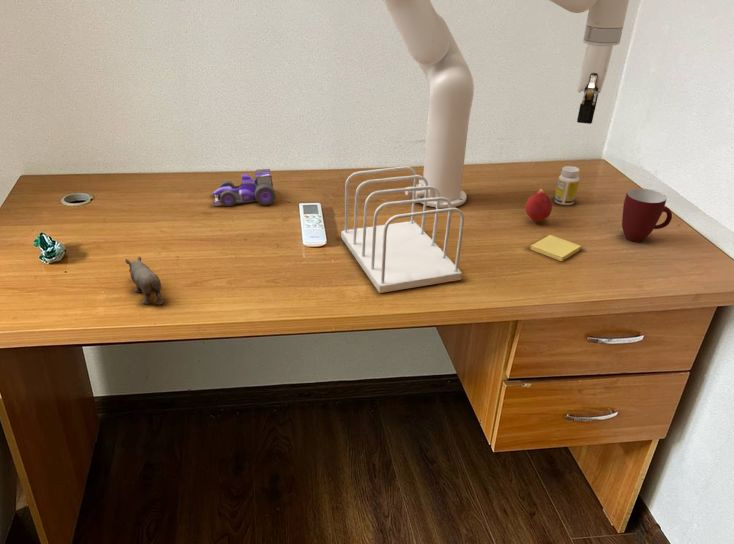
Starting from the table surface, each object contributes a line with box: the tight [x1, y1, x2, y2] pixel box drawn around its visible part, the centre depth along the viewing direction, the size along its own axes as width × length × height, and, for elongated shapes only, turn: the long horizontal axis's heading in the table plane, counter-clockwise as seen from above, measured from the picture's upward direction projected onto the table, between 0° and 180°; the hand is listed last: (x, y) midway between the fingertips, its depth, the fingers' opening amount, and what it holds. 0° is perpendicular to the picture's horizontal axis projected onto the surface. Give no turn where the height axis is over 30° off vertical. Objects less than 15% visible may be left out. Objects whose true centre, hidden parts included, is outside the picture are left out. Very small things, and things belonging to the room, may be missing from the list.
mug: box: [621, 188, 673, 243], centre depth 145 cm, size 11×8×10 cm
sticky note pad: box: [530, 234, 582, 262], centre depth 143 cm, size 8×8×1 cm
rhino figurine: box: [125, 256, 165, 306], centre depth 126 cm, size 4×14×6 cm, turn 33°
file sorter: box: [340, 165, 465, 294], centre depth 135 cm, size 25×17×16 cm
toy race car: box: [212, 168, 276, 207], centre depth 162 cm, size 10×15×6 cm, turn 100°
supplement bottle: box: [554, 165, 580, 206], centre depth 162 cm, size 5×5×8 cm
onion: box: [525, 188, 553, 224], centre depth 152 cm, size 6×6×8 cm
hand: (585, 116), depth 151 cm, fingers open, 9 cm apart
